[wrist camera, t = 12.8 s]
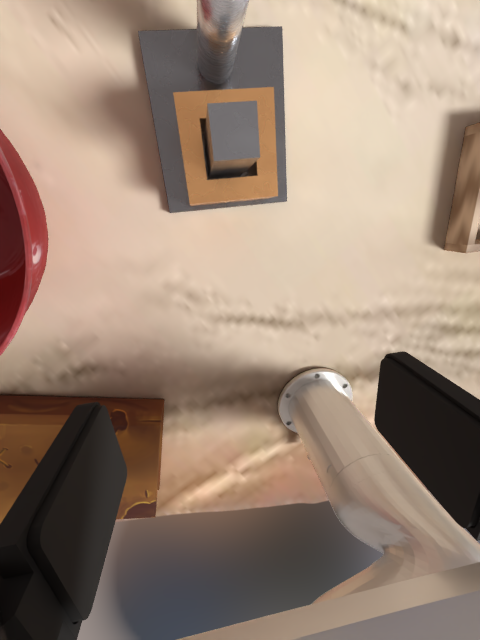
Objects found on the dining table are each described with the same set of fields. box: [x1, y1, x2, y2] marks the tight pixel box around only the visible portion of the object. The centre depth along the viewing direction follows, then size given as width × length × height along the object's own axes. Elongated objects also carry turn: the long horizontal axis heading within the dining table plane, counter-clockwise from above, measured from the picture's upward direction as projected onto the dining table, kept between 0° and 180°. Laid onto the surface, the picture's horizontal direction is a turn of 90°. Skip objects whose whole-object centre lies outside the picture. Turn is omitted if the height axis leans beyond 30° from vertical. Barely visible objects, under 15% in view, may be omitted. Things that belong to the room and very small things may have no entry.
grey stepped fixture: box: [138, 0, 287, 213], centre depth 22 cm, size 25×14×13 cm, turn 5°
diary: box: [0, 395, 164, 524], centre depth 40 cm, size 23×19×6 cm
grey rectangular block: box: [204, 101, 260, 179], centre depth 25 cm, size 4×4×11 cm
